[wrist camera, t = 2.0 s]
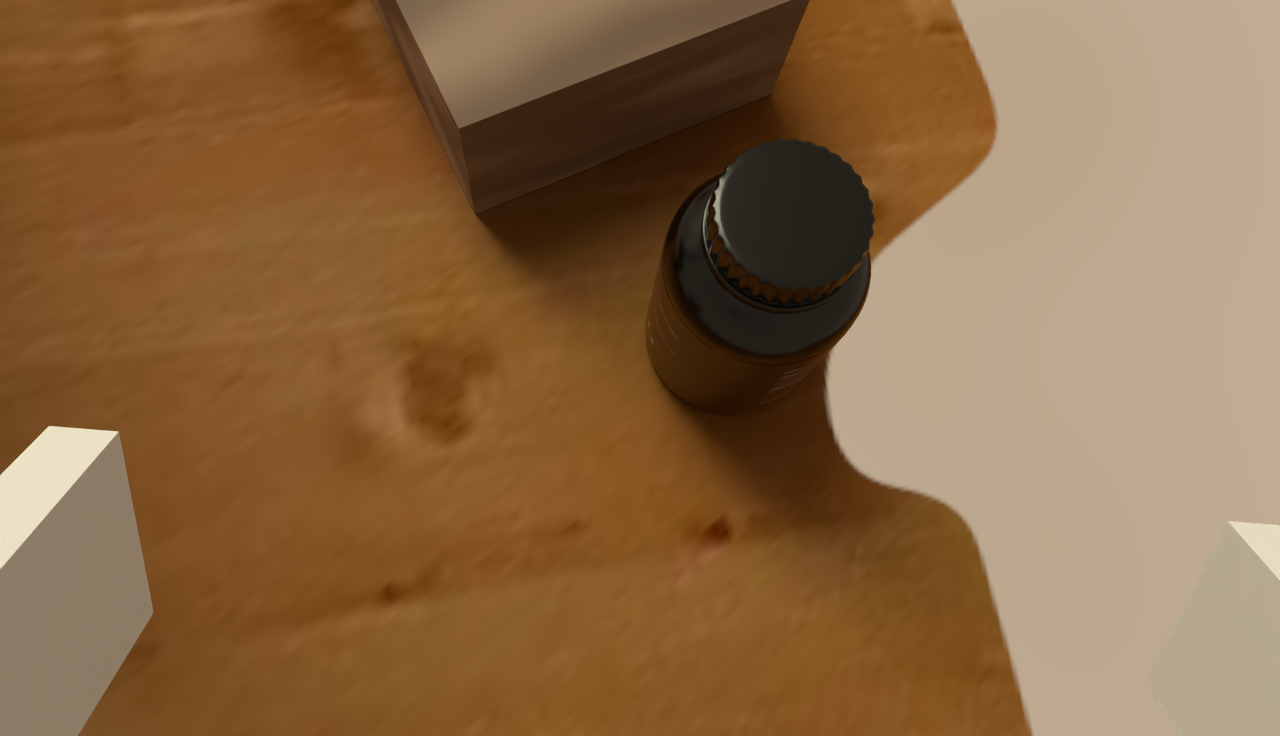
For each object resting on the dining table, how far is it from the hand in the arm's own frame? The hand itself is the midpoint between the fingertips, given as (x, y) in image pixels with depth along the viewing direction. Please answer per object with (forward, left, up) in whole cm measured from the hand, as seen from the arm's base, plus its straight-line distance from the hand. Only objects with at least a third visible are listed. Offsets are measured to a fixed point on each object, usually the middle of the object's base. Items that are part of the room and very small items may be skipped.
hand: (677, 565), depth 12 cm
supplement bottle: (-7, +9, -25) cm, 28 cm away
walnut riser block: (-23, +9, -25) cm, 35 cm away
